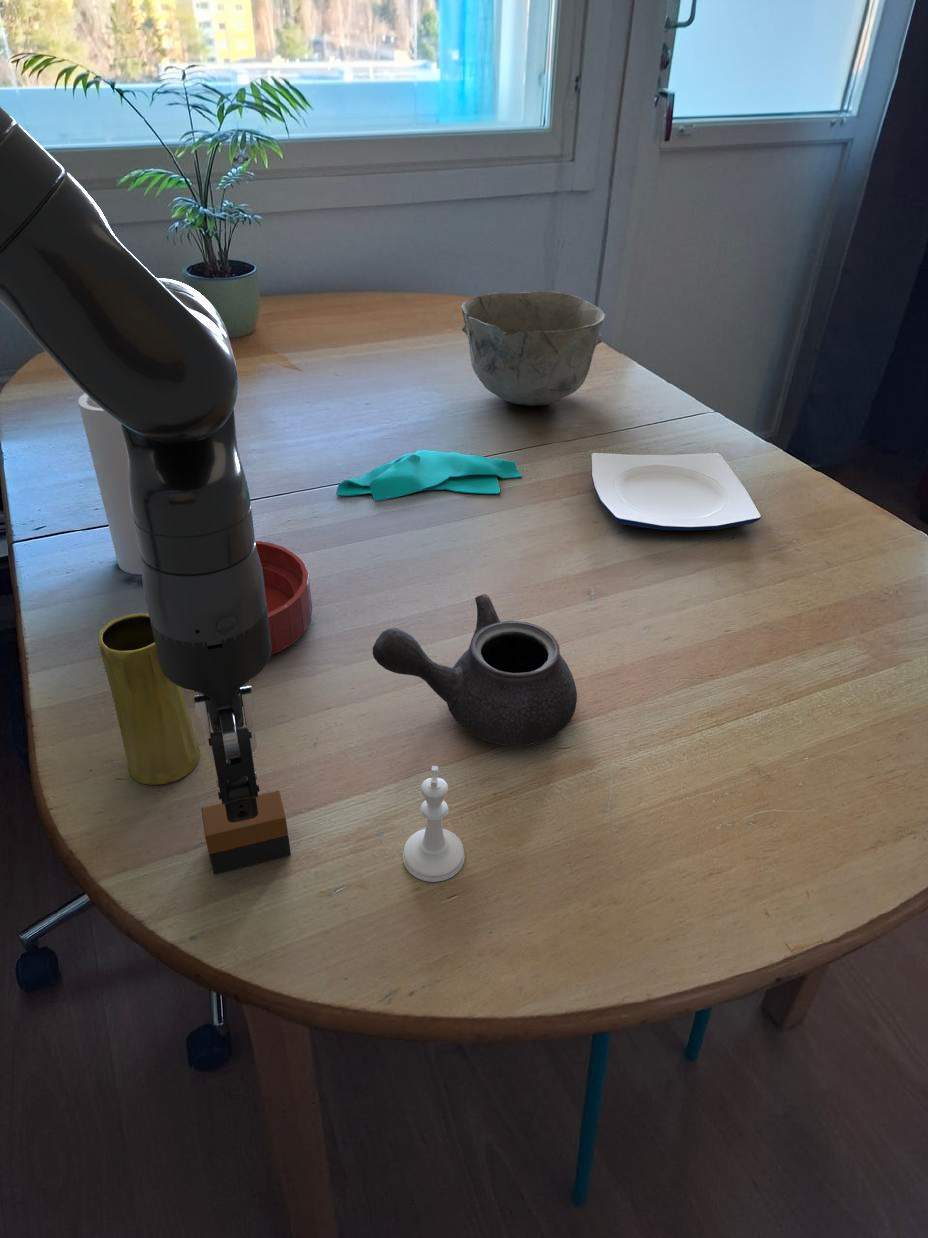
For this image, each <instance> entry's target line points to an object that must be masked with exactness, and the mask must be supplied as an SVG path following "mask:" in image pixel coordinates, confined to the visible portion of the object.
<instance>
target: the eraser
mask: <svg viewBox="0 0 928 1238" xmlns="http://www.w3.org/2000/svg"><path fill="white" fill-rule="evenodd" d="M256 801H257V808H258V815H257V816H256V817H255V818H252V819H248V820H243V821H239V822H229V821H228V820H227V814H226V809H225V804H222V802H221V803H215V804H212V805H208V806H203V807H201V816H202V822H203V823H202V824H203V832H204V838H205V842H206V846H207V851H208V855H209V860H210V864H211V868H212V874H213V875H217V874H221V873H226V872H230V871H234V870H238V869H242V868H246V867H250V866H254V865H257V864H258V865H259V864H261V863H266V862H269V861H274V860H277V859H282V858H285V857H290V856H291V855H292V852H291V845H290V838H289V831H288V830H289V829H288V824H287V818H286V812H285V808H284V805H283V800H282V795H281V792H280V790H273V791H269V792H264V793H261V794H258V797H256Z"/></svg>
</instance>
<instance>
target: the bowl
mask: <svg viewBox="0 0 928 1238" xmlns="http://www.w3.org/2000/svg"><path fill="white" fill-rule="evenodd" d="M460 309H461V313H462V317H463V321H464V325H463V326H462V327H461V331H462V332H463V333H464V334H465V335H466V337H467V340H468V346H469V359H470V364H471V368H472V370H473V372H474V374H475V375H476V377H477V378H478V380H479V381H480V382H481V383H482V385H483V386H484V388H485V389H486V390H488V392H490V393H492V394H493V395H495V396H496V397H498V398H500V399H502V400H504V401H506V402H508V403H512V404H516V405H521V406H531V407H532V406H546V405H551V404H554V403H556V402H559V401H560V400H563V399H564V398H566V397H568V396H570V395H572V394H574V393H575V392H577V391H578V390H579V389H580V388H581V386H582V385H584V383H585V381H586V379H587V377H588V374H589V372H590V368H591V364H592V361H593V357H594V354H595V350H596V347H597V345H600V344H601V343H602V342H603V341H602V339H603V336H602V334H601V331H602V327H603V324H604V322H605V318H606V313H605V312H604V311H602V309H601V308H600V307H599V306H596V305H595V304H592V303H591V302H590V301H587V300H585V299H584V298H583V297H582V298H581V297H579V296H577V295H572V294H565V293H564V292H559V291H550V290H534V291H521V292H520V291H517V292H516V291H515V292H514V291H513V292H504V291H503V292H501V291H500V292H491V293H487V294H482V295H477V296H474V297H471V298H469V299H468V300H466V301H465V302H462V305H461V307H460Z"/></svg>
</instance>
